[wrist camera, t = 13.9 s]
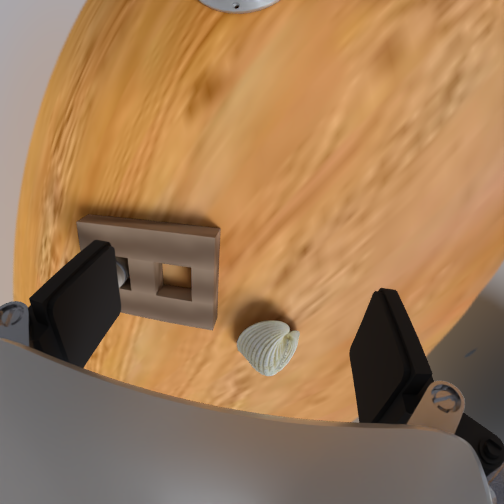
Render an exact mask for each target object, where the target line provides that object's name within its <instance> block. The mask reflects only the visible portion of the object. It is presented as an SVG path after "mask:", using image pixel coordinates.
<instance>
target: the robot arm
mask: <svg viewBox="0 0 504 504" xmlns="http://www.w3.org/2000/svg"><path fill="white" fill-rule="evenodd" d="M199 1H200V2H201V3H202V4H204V5H206V6H207V7H209V8H211V9H214V10H217V11H220V12H225V13H236V14H241V13H251V12H255V11H259V10H262V9H265V8H267V7H270V6H272V5H273V4H275V3H277V2H279V1H280V0H199ZM237 6H238V7H239V8H237V9H235V7H237ZM29 300H30V303H31V305H30V306H29V307H27V306H26V305H25V304H24V303H22V302H18V301H15V302H9V303H6V304H4V305H2V306H0V504H504V445H503V443H502V441H501V440H500V439H499V438H498V437H497V436H496V435H495V434H493V433H492V432H490V431H489V430H487V429H486V428H485V427H483V426H482V425H480V424H479V423H477V422H476V421H475V420H473V419H472V418H470V417H468V415H466V414H465V413H463V411H464V407H465V400H464V397H463V395H462V393H461V392H460V391H459V389H458V388H456V387H455V386H454V385H453V384H451V383H448V382H446V381H435V382H434V380H433V378H432V371H431V369H430V366H429V364H428V361H427V358H426V356H425V354H424V351H423V349H422V346H421V344H420V341H419V339H418V337H417V334H416V332H415V330H414V327H413V325H412V323H411V321H410V318H409V316H408V314H407V312H406V310H405V307H404V305H403V303H402V301H401V299H400V297H399V295H398V293H397V291H396V290H392V289H385V288H380V289H379V291H375V292H374V293H373V295H372V298H371V300H370V303H369V305H368V308H367V310H366V313H365V315H364V318H363V320H362V322H361V325H360V327H359V329H358V332H357V334H356V336H355V339H354V341H353V343H352V345H351V348H350V362H351V368H352V374H353V380H354V387H355V393H356V400H357V408H358V415H359V423H354V422H336V421H322V420H309V419H299V418H290V417H281V416H273V415H266V414H259V413H253V412H246V411H240V410H235V409H229V408H224V407H218V406H213V405H209V404H204V403H199V402H195V401H190V400H186V399H182V398H178V397H174V396H170V395H166V394H162V393H158V392H155V391H151V390H148V389H144V388H141V387H137V386H134V385H131V384H128V383H124V382H121V381H118V380H115V379H112V378H109V377H106V376H103V375H100V374H97V373H95V372H92V371H89V370H86V369H84V366H85V365H86V363H87V361H88V360H89V358H90V357H91V355H92V354H93V352H94V351H95V349H96V348H97V346H98V345H99V343H100V342H101V340H102V339H103V337H104V336H105V334H106V333H107V332H108V330H109V329H110V327H111V326H112V324H113V323H114V321H115V320H116V319H117V317H118V316H119V314H120V312H121V299H120V292H119V284H118V276H117V267H116V257H115V249H114V247H112V246H111V243H110V242H107V241H102V240H94V241H93V242H91V243H90V244H89V245H88V246H87V247H85V248H84V249H83V250H82V251H81V252H80V253H78V254H77V255H76V256H75V257H74V258H73V259H72V260H70V261H69V262H68V263H67V264H66V265H65V266H64V267H62V268H61V269H60V270H59V271H58V272H57V273H56V274H55V275H54V276H53V277H51V278H50V279H49V280H48V281H47V282H46V283H45V284H44V285H43V286H42V287H41V288H40V289H39V290H38V291H37V292H36V293H34V294H33V295H32V296H31V297H30V298H29Z"/></svg>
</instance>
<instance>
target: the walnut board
mask: <svg viewBox="0 0 504 504" xmlns="http://www.w3.org/2000/svg"><path fill="white" fill-rule="evenodd" d="M77 229H78V237H79V243H80V250H81V251H82V250H83V249H84V248H85V247H87V246H88V245H89V244H90V243H91V242H93V241H94V240H102V241H107V242H110V243H111V246H112V247H114V249H115V256H118V257H124V258H128V266H129V274H130V278H127V280H126V281H125V283H124V284H123V285H122V286H121V287H120V288H119V292H120V299H121V312H122V313H126V314H131V315H135V316H140V317H145V318H149V319H154V320H159V321H164V322H169V323H174V324H180V325H185V326H191V327H196V328H202V329H208V330H213V328H214V325H215V322H216V319H217V306H218V274H219V249H220V228H212V227H203V226H194V225H185V224H176V223H167V222H158V221H149V220H139V219H129V218H120V217H110V216H99V215H89V214H88V215H86V216H85V217H83V218H82V219H80V220H78V221H77ZM162 263H163V264H170V265H177V266H184V267H191V281H192V289H190V288H183V287H177V286H171V285H165V284H163V269H162Z"/></svg>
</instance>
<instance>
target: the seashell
mask: <svg viewBox="0 0 504 504" xmlns="http://www.w3.org/2000/svg"><path fill="white" fill-rule="evenodd" d="M289 331H290V328H289V326H288V325H287V324H286V323H284V322H282V321H275V320H269V321H262V322H258V323H256V324H253V325H251V326H249V327H248V328H246V329H245V330H244V331H243V332H242V333H241V334H240V336H239V338H238V340H237V348H238V351H240V352H241V353H242V355H243V356H244V357H245V358H246V359H247V360H248V361H249V363H250V364H251V365H252V367H253V368H255V369H256V371H258V372H260V373H261V374H263V375H265V376H272V375H274V374H276V373H277V372H279V371H280V370H282V369H283V368H284V367H285V365H286V364H287V363H288V362H289V360H290V359H291V357H292V356H293V354H294V352H295V350H296V348H297V344H298V339H299V335H300V333H299V331H297V330H294V331H291V332H289Z"/></svg>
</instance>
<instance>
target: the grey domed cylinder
mask: <svg viewBox="0 0 504 504" xmlns="http://www.w3.org/2000/svg"><path fill="white" fill-rule="evenodd" d="M115 257H116V267H117V276H118V284H119V288H120V287H121V286H122V285H123V284H124V283H125V281H126V280H127V278H128V277H129V276H130V274H129V266H128V258H124V257H118V256H115Z"/></svg>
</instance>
